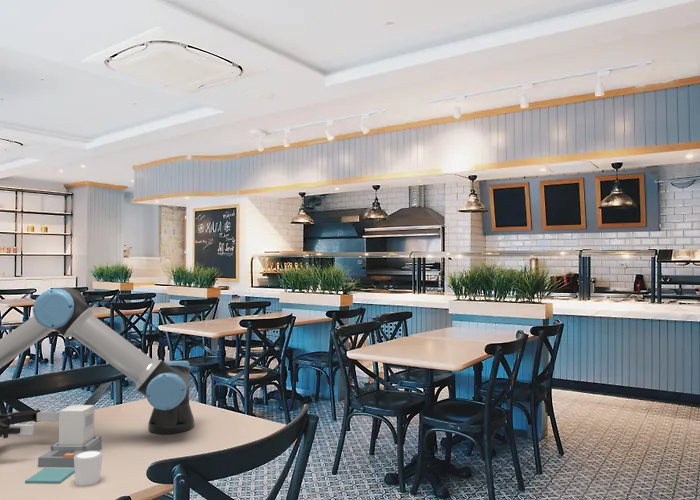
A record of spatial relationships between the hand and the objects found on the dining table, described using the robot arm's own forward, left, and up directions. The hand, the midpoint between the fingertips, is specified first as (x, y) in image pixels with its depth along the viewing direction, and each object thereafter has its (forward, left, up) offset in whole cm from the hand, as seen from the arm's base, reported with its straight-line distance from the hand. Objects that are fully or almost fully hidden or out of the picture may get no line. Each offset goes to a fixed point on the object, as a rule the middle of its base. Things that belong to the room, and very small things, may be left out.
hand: (46, 423), depth 165 cm
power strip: (-9, -1, -9) cm, 13 cm away
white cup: (-23, +21, -9) cm, 32 cm away
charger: (-9, 0, -6) cm, 11 cm away
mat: (-12, +18, -9) cm, 23 cm away
